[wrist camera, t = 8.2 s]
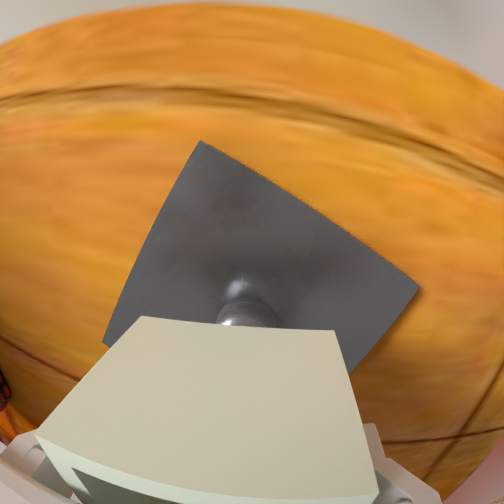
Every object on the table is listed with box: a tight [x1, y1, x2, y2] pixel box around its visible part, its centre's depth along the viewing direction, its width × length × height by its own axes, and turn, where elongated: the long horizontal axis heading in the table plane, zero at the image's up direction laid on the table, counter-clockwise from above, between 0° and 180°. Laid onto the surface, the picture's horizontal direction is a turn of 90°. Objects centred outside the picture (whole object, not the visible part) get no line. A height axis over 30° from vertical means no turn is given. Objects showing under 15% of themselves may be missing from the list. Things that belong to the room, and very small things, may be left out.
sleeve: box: [34, 316, 379, 504], centre depth 7 cm, size 6×6×6 cm
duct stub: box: [102, 140, 420, 375], centre depth 14 cm, size 14×14×6 cm
